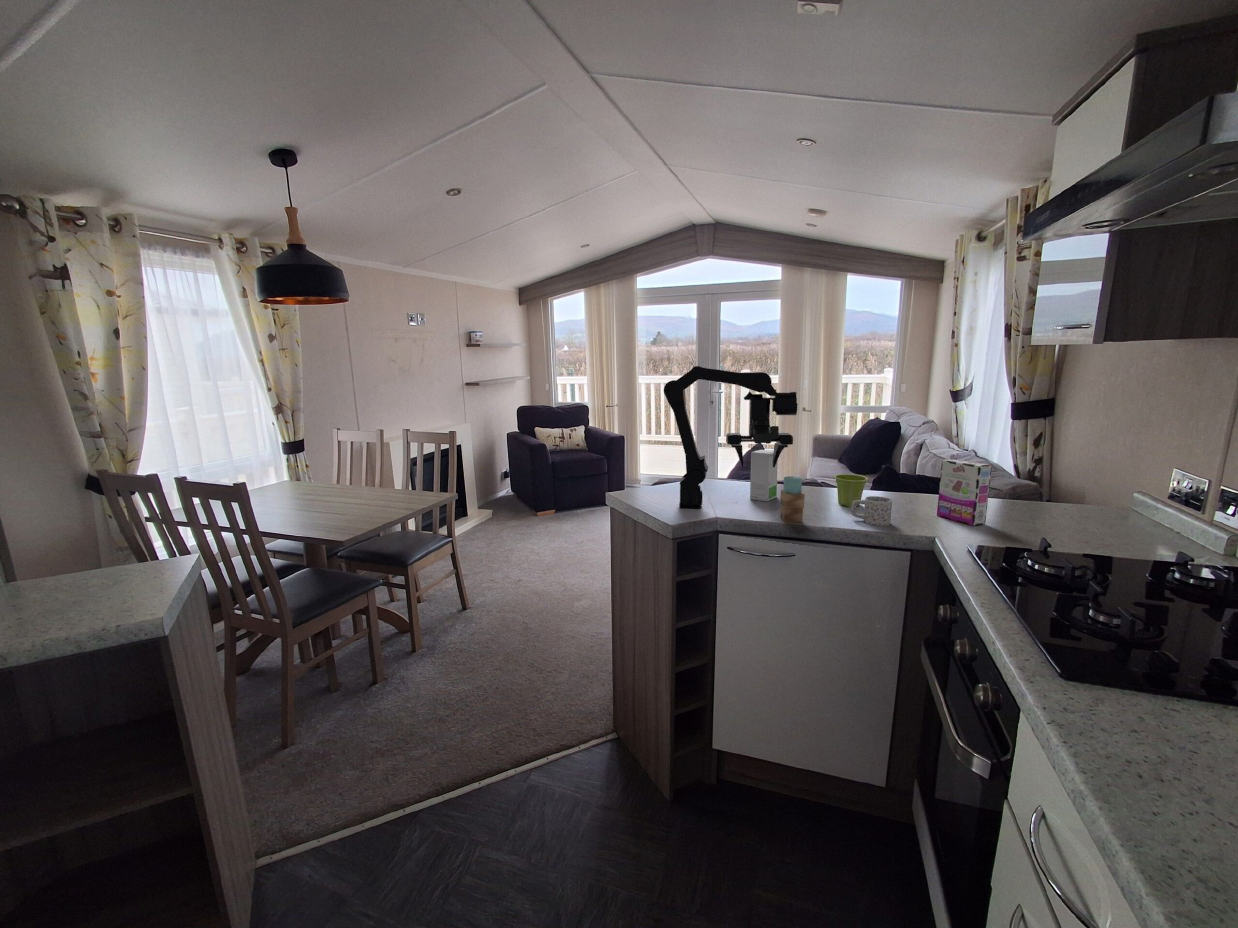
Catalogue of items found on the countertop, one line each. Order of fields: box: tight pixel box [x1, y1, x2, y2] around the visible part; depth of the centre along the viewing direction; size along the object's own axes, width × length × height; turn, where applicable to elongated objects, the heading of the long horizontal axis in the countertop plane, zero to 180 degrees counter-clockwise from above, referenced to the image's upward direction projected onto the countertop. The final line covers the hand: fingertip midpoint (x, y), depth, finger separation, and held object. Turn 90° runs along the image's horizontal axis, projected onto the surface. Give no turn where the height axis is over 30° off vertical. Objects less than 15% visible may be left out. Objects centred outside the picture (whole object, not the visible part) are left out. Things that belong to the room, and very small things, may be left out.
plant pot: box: [834, 473, 869, 508], centre depth 163 cm, size 9×9×9 cm
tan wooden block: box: [779, 489, 806, 509], centre depth 149 cm, size 5×5×4 cm
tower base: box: [780, 504, 804, 523], centre depth 149 cm, size 5×5×4 cm
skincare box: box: [749, 449, 779, 502], centre depth 172 cm, size 8×7×16 cm
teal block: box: [782, 475, 803, 494], centre depth 148 cm, size 5×5×4 cm
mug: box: [850, 495, 893, 527], centre depth 146 cm, size 10×7×7 cm, turn 59°
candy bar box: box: [936, 458, 993, 527], centre depth 145 cm, size 11×5×16 cm, turn 21°
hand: (757, 467), depth 159 cm, fingers open, 9 cm apart
